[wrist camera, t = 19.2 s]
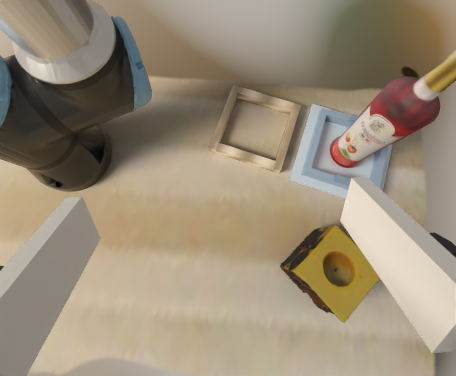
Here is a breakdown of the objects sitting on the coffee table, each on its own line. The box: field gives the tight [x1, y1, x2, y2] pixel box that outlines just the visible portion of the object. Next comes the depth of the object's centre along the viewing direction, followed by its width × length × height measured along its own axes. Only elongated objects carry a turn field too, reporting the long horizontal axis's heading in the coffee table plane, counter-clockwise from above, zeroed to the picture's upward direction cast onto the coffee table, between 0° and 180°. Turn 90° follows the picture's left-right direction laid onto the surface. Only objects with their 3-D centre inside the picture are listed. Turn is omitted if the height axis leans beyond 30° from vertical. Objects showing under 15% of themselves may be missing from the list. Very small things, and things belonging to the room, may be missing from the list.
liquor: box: [330, 49, 456, 168], centre depth 36 cm, size 7×7×28 cm
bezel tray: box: [289, 104, 393, 199], centre depth 49 cm, size 18×18×3 cm
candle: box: [280, 226, 380, 323], centre depth 41 cm, size 10×10×10 cm
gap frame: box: [209, 85, 301, 173], centre depth 51 cm, size 15×15×2 cm
